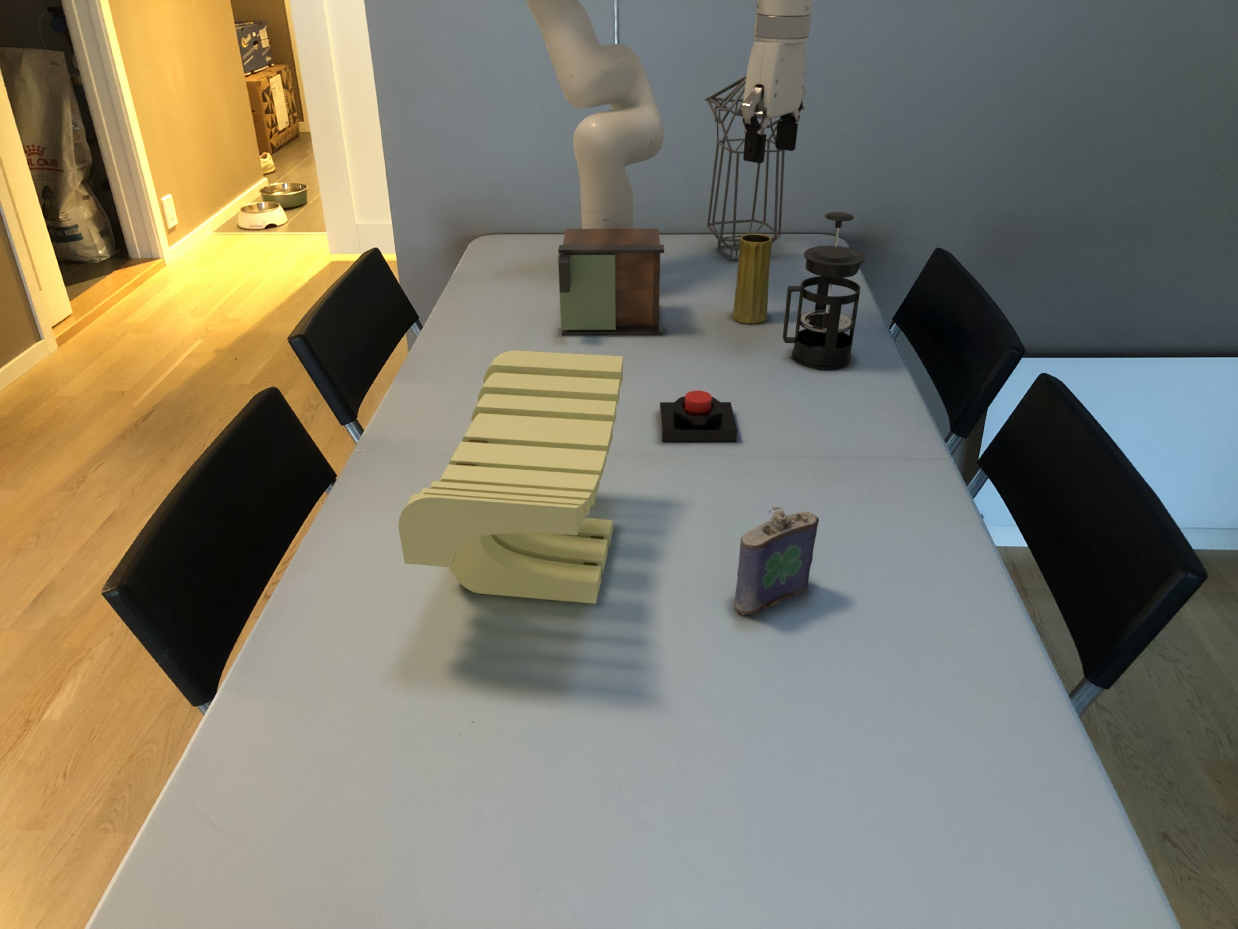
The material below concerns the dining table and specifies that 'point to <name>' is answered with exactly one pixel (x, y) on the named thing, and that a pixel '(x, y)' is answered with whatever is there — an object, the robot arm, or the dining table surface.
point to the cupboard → (625, 275)
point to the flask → (775, 560)
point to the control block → (697, 423)
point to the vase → (752, 279)
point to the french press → (825, 322)
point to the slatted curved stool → (525, 482)
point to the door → (587, 291)
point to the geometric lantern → (738, 112)
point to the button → (698, 401)
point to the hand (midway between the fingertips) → (769, 155)
